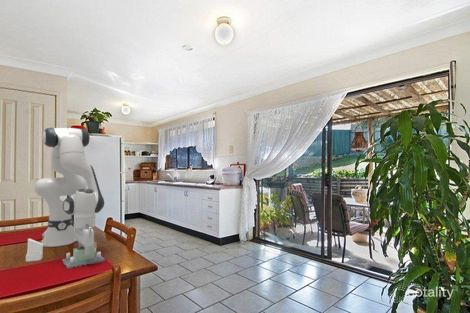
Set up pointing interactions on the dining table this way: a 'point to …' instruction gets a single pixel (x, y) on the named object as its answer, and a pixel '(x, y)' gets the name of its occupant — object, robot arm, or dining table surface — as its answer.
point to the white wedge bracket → (34, 250)
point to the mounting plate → (71, 263)
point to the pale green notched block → (79, 254)
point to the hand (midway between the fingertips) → (83, 252)
